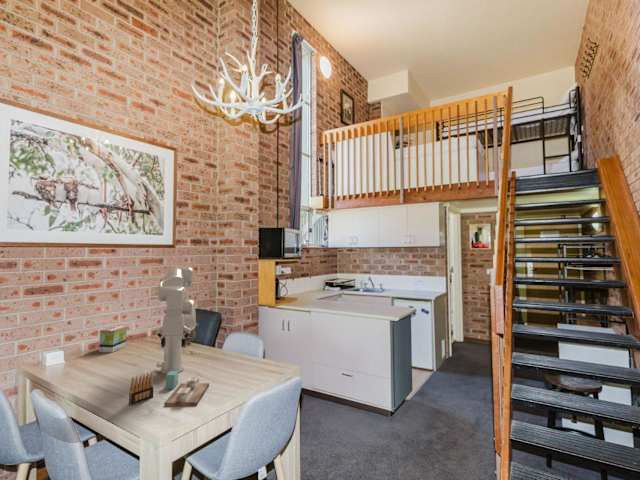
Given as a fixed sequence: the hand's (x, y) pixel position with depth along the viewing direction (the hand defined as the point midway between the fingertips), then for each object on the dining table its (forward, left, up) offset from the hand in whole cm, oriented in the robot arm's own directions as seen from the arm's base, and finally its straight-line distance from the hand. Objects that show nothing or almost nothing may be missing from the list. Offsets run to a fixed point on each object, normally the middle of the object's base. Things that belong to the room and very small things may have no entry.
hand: (173, 346), depth 173 cm
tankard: (-20, +84, -21) cm, 89 cm away
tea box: (-63, +67, -21) cm, 94 cm away
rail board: (+11, -11, -20) cm, 26 cm away
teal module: (0, 0, -20) cm, 20 cm away
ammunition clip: (-8, -16, -21) cm, 27 cm away
